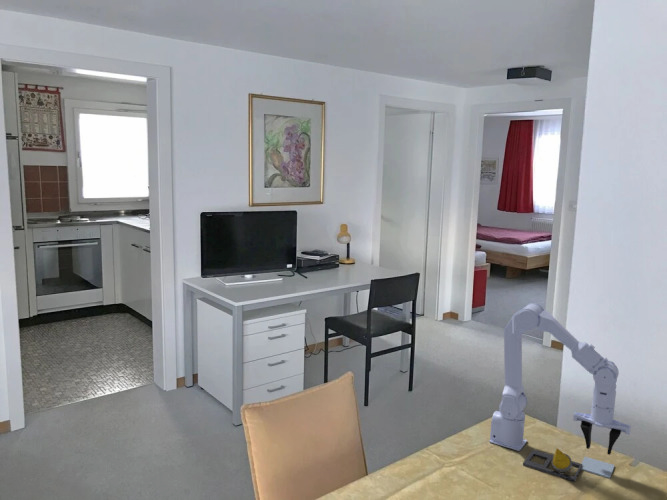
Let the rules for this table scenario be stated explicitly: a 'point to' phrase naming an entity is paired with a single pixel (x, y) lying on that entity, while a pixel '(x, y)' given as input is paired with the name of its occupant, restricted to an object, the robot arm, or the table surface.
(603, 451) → the table surface
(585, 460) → the mat
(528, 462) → the rectangular frame
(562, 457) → the yellow cone
